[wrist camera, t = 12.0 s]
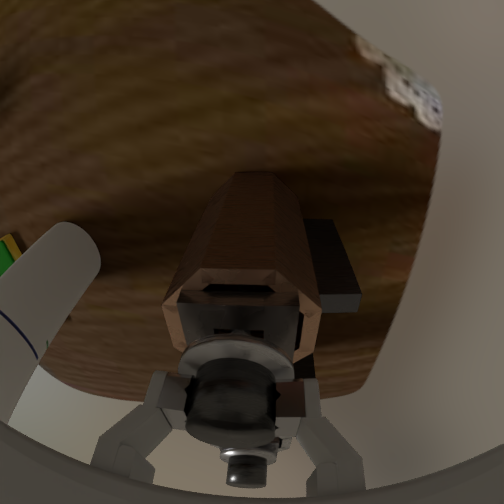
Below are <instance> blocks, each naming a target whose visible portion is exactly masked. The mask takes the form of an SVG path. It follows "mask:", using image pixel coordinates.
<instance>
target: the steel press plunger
mask: <svg viewBox="0 0 504 504" xmlns="http://www.w3.org/2000/svg"><path fill="white" fill-rule="evenodd" d="M220 459H221V460H223V461H224V462H227V463H228V471H227V480H226V484H227V485H230V486H234V487H240V488H262V487H265V486H266V477H267V465H270V464H273V463H275V462H276V453H275V452H273V451H271V450H269V449H265V448H260V447H254V448H224V449H222V450H221V453H220Z"/></svg>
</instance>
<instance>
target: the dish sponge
mask: <svg viewBox="0 0 504 504" xmlns="http://www.w3.org/2000/svg"><path fill="white" fill-rule="evenodd" d="M21 255H22V254H21V252H20V250H19V248H18V246H17V245H16V243H15V241H14V239H13V237H12V235H11V234H7V235H6V236H4V237H2V238H0V277H1V276H2V275H3V274H4V273H5V272H6V270H7V269H8V268H9V267H10V266H11V265H12V264H13V263H14V262H15V261H16V260H17V259H18V258H19V257H20V256H21Z"/></svg>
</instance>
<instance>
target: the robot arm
mask: <svg viewBox="0 0 504 504" xmlns="http://www.w3.org/2000/svg"><path fill="white" fill-rule="evenodd" d="M194 382H195V376H194V375H189V374H180V373H171V372H165V371H157V370H156V371H155V372H154V373H153V375H152V378H151V381H150V384H149V388H148V391H147V394H146V397H145V400H144V403H143V405H138V406H137V407H136V408H135V409H134V410H132V411H131V412H130V413H129V414H127V415H126V416H125V417H124V418H122V419H121V420H120V421H119V422H117V423H116V424H115V425H114V426H113V427H111V428H110V429H109V430H107V431H106V432H105V433H104V434H102V435H101V436H100V437H99V439H98V442H97V445H96V448H95V451H94V454H93V457H92V460H91V464H90V465H89V464H86V463H83V462H81V461H78V460H76V459H73V458H71V457H68V456H66V455H64V454H62V453H60V452H57V451H55V450H53V449H51V448H49V447H47V446H45V445H43V444H41V443H39V442H37V441H35V440H33V439H31V438H29V437H28V436H26V435H24V434H22V433H20V432H18V431H17V430H15V429H14V428H12V427H10V426H9V425H7V424H5V423H4V422H2V421H1V420H0V504H504V444H502V445H499V446H497V447H495V448H493V449H491V450H489V451H487V452H485V453H483V454H480V455H478V456H476V457H474V458H471V459H469V460H467V461H464V462H462V463H459V464H457V465H454V466H452V467H449V468H446V469H443V470H441V471H438V472H435V473H432V474H428V475H426V476H422V477H419V478H415V479H412V480H408V481H405V482H401V483H397V484H392V485H388V486H383V487H379V488H374V489H369V490H366V487H365V478H364V470H363V462H362V457H361V456H360V455H359V454H358V453H357V452H356V451H355V450H354V448H352V446H351V445H350V444H349V443H348V442H347V441H346V440H345V438H344V437H343V436H342V435H341V434H340V433H339V432H338V431H337V430H336V428H335V427H334V426H333V425H332V424H331V423H330V422H329V420H328V419H327V418H326V417H321V406H320V396H319V387H318V381H317V379H316V378H309V379H303V378H300V379H276V383H275V437H296V439H297V440H298V441H299V443H300V444H301V446H302V447H303V449H304V450H305V452H306V453H307V454H308V456H309V457H310V459H311V460H312V462H313V463H314V465H315V466H316V469H315V470H314V471H313V473H312V474H311V476H310V477H309V478H308V480H307V482H306V487H307V488H306V490H307V491H306V492H307V494H306V497H300V498H247V497H232V496H220V495H212V494H203V493H197V492H190V491H183V490H178V489H173V488H168V487H163V486H158V485H154V484H152V483H153V478H154V473H155V468H154V467H153V466H152V465H151V464H150V463H149V462H148V461H147V460H146V459H145V458H146V457H147V456H148V455H149V454H150V453H151V452H152V451H153V450H154V449H155V448H156V447H157V446H158V445H159V444H160V442H161V441H162V440H163V439H164V438H165V437H166V436H167V435H168V434H169V433H170V432H171V431H172V429H179V430H186V428H185V424H186V419H187V415H188V410H189V405H190V400H191V396H192V391H193V386H194Z"/></svg>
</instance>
